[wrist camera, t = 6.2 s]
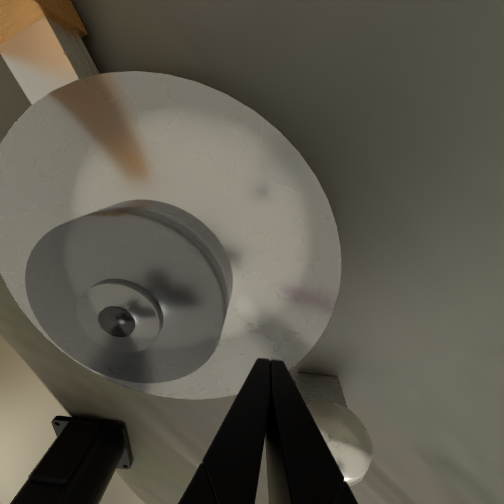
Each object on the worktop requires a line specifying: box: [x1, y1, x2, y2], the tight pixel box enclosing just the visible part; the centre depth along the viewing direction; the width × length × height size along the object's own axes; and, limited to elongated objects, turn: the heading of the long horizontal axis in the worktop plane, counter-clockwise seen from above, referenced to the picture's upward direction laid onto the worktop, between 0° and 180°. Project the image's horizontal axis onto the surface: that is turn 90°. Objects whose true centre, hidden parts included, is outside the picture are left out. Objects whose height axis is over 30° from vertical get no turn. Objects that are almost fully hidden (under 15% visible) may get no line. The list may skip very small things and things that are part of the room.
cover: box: [25, 199, 233, 383], centre depth 11 cm, size 8×8×4 cm
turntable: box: [0, 0, 341, 399], centre depth 11 cm, size 23×18×6 cm
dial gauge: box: [295, 373, 373, 486], centre depth 16 cm, size 4×4×6 cm
